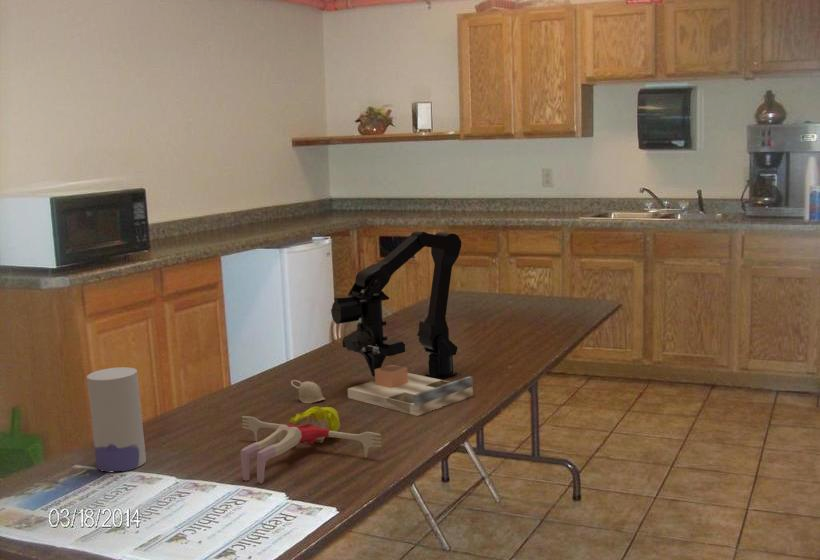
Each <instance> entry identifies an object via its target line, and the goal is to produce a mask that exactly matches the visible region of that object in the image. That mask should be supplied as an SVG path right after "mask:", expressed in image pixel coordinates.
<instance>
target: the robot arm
mask: <svg viewBox="0 0 820 560" xmlns="http://www.w3.org/2000/svg"><path fill="white" fill-rule="evenodd" d="M426 247H427V248H430V251H431V256H432V261H433V263H434V264H433V265H434V267H433V274H432V282H431V289H430V290H431V291H430V298H429V305H428V313H427V317H426V318H425V320H424V321H422V320H421V321H419V322H418V332H417V335H416V336H418V341H419V343H420V345H421V346H423V349H424V351H425V353H429V354H428V372H427V373H425V376H426V377H430V378H435V379H440V380H443V379H447V378H450V377H453V376H456V375H458V372H457V371H454V361H453V360H454V359H453V357H454V356H456V355H457V353H458V346H457V345H456V344H455V343H453V342H452V341H451V340H450V329H449V326H448V322H447V319H446V318H447V317H446V316H447V308H448V302H449V294H450V293H449V292H450V287H451V286H450V284H451V279H452V273H453V271H452V270H453V266H454V265H455V263H456V262H457V260H458V258H459V256H460V253H461V249H462V239H461V238H460V237H459V235H457V234H456V233H453V232H451V233H450V232H442V231H440V232H437V233H435V234H433V233H428V232H425V231H419V230H416V231H413V232H412V233H410V235H409V236H408V237H407V238H406V239H405V240H404V241H402V243H400V244H399V245H398V246H397V247H395V248H394V249H393V250H392V251H391V252H389V253H388V254H387V255H386V256H385V257H384V258H382V259H381V260H379V261H377V262H376V263H373V264H372V265H368V266H367V267H365V268H364V269H362V270H360V271H359V272H358V273H357V274H356V275H355V281H354V284H353V285H352V287H351V289H350V291H349V292H348V294H347V296H346V295H345V296H336V297H334V301H333V303H332V304H331V305H332V306H331V309H330V313H331V317H332V320H333V322H334V323H335V324H337V325H339V324H340V325H341V324H346V323H351V322H357V324H356V327H357V328H356V330H354V331H352V332H350V334H348V335H345V336H344V337H343V339H342V348H345V349H346V350H347V351H348V352H349V351H351V352H355V353H358V354H360V355H361V356H362V357H364V359H365V360H366V363H367V365H368V368H369V370H370V373H371V376H372V377H374V378H375V369H377V368H381V367H383V363H384V361H385V359H386V357H392V356H396V355H399V354H404V353H406V344H405V343H404V342H403V341H401V340H396V339H391V340H389V341H388V336H387V335H385V334H384V326H387V321H386V320H384V319H383V301H388V300H390V297H389V296H388V295H387V294H386V293H385V292H384V291H383V290H384V289H385V288H386V286H387V285H388V283H389V282H390V280H391V278H392V276H393V275H394V274H395V272H397V271H398V270H399V269H400V268H401V267H402V266H403V265H405V264H406V263H407V262H409V260H411V259H412V258H413V257H414V256H415V255H416V254H417V253H419V252H420V251H421V250H423V248H426ZM359 320H360V322H358V321H359Z"/></svg>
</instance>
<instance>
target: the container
mask: <svg viewBox="0 0 820 560" xmlns="http://www.w3.org/2000/svg"><path fill="white" fill-rule="evenodd" d="M138 375H139V374H138V369H136V368H134V367H126V366H125V367H122V366H120V367H111V368H109V367H108V368H104V369H103V368H102V369H99V370H96V371H95V370H94V371H92V372H90V373H88V375H86V384H87V392H88V402H89V410H90V419H91V427H92V437H93V446H94V447H93V448H94V455H95V456H94V457H95V465H96V466H95V467H96V469H97V470H98V469H99V470H103V471H122V472H127V471H130V470H134V469H137V468H140V467H141V466H142V465H144V464H145V463H146V461H147V458H146V457H147V455H146V446H145V437H144V434H145V433H144V428H143V427H144V426H143V416H142V405H141V397H140V396H141V394H140V387H139V386H140V385H139V376H138ZM99 470H98V471H99Z"/></svg>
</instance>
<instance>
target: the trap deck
mask: <svg viewBox="0 0 820 560" xmlns="http://www.w3.org/2000/svg"><path fill="white" fill-rule="evenodd" d="M473 389H474V387H473V376H466V377H463V378H460V379H457V380H454V381H449V380H443V379H440V378H435V377H430V376H426V375H420V374H416V373H410V372H408V383H406V384H403V385H399V386H396V387H393V388H389V387H385V386H380V385H376V384H375V379H374V380H371V381H369V382H368V381H367V382H365V383H362V384H358V385H354V386H351V387H349V388H347V399H351V400H354V401H358V402H362V403H365V404H369V405H374V406H378V407H382V408H385V409H389V410H393V411H397V412H400V413H406V414H409V415H412V416H417V417H419V416H421V415H424V414H428V413H429V412H433V411H436V410H438V409H441V408H444V407H446V406H449V405H452V404H454V403H457V402H460V401H464V400H466V399H468V398H472V397H473V395H474V392H473ZM443 406H444V407H443ZM435 409H436V410H435ZM432 410H433V411H432Z"/></svg>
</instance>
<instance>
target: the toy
mask: <svg viewBox="0 0 820 560" xmlns="http://www.w3.org/2000/svg"><path fill="white" fill-rule="evenodd" d="M241 418H242V419H241V421H242V423H241V425H243V426H242V428H243V429H246V430H250V431H251V432H253V434H254V442H253V443H251V444H249V445H247V446H245V447H243V448H242V449H241V450H240V466H241V473H242V474H241V475H242V479H243V481H244V480H246V481H245V482H248V481H247V480H249V481H250V477H251V476H250V461H251V458H253V457H255V456H256V480H257V483H258V482H259V483H258V484H264V483H263V482H265V472H266V471H265V469H266V468H265V467H266V464H267V461H268V460H270V459H273V458H274V457H277V456H279V455H282V454H283V453H285V452H287V451H288V450H290V449H292V448H293V447H295V446H296V445H298V444H299V443H300V444H304V443H307V444H308V445H313V444H314V442H316V443H320V444H323V443H324V440H325V438H328V439H329V438H338V439H344V440H345V439H347V440H353V441H358V442H360V443H361V444H362V445H363V451H364V457H365V459H367V458H368V450H369V448H372V447H373V448H374V447H375V448H376V447H377V448H381V447H382V445H381V444H382V441H380V440H382V438H381V436H382V434H381V433H377V432H372V431H364V432H362V433H358V434H357V433H350V432H349V433H348V432H341V431H338V430H339V429H340V427H341V423H340V417H339V412H338V411H337V410H336V409H335V408H334V407H330V406H325V407H324V406H322V407H320V406H318V405H317V406H312V407H310V408H308V409H307V410H305V411H303V412H301V413H296V415H295V416H292V417H290V420H289V423H287V424H282V423H281V424H280V423H274V422H267V421H266V422H265V421H262V420H259V419H258V418H257V417H254V416H247V415H242V416H241ZM303 419H306V422H307V424H306V423H305V424H298V425H296V423H297V422H299V421H300V420H303ZM262 428H264V429H271V430H272V429H273V430H275V431H274V432H272V433H271V434H269V436H267V437H265V438H264V439H261V440H260V441H258V432H259V430H260V429H262ZM255 441H256V442H255Z"/></svg>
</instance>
